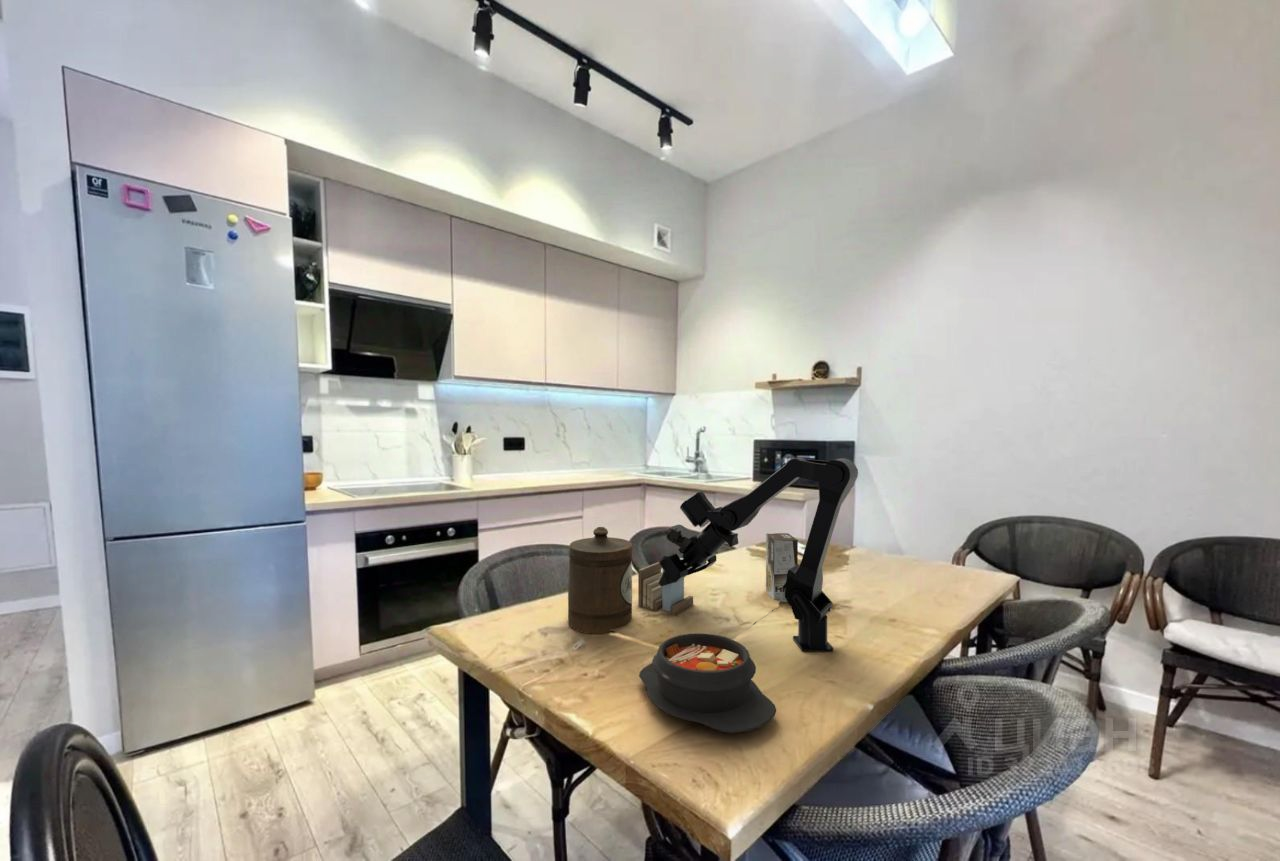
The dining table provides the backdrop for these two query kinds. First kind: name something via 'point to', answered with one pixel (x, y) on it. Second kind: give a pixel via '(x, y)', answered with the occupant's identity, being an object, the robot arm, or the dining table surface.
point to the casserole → (707, 683)
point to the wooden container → (600, 583)
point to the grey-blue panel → (672, 593)
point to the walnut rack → (657, 591)
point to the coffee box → (779, 562)
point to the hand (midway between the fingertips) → (668, 580)
